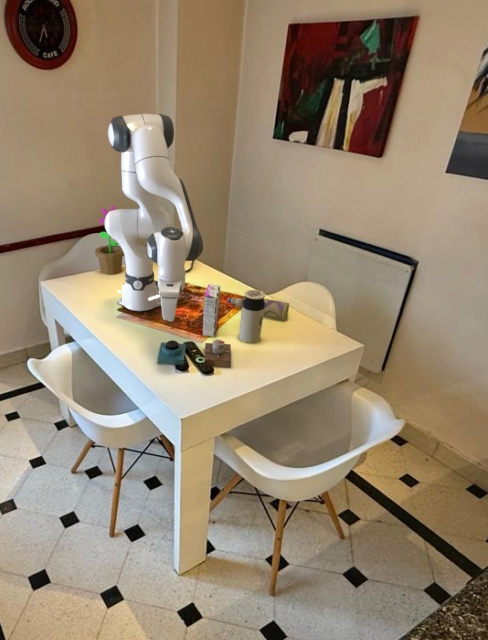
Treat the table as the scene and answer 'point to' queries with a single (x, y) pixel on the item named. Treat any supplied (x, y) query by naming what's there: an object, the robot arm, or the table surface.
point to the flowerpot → (109, 252)
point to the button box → (171, 354)
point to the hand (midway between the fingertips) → (170, 319)
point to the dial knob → (218, 346)
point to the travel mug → (252, 316)
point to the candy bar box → (211, 310)
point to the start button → (172, 345)
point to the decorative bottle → (267, 307)
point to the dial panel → (218, 356)
